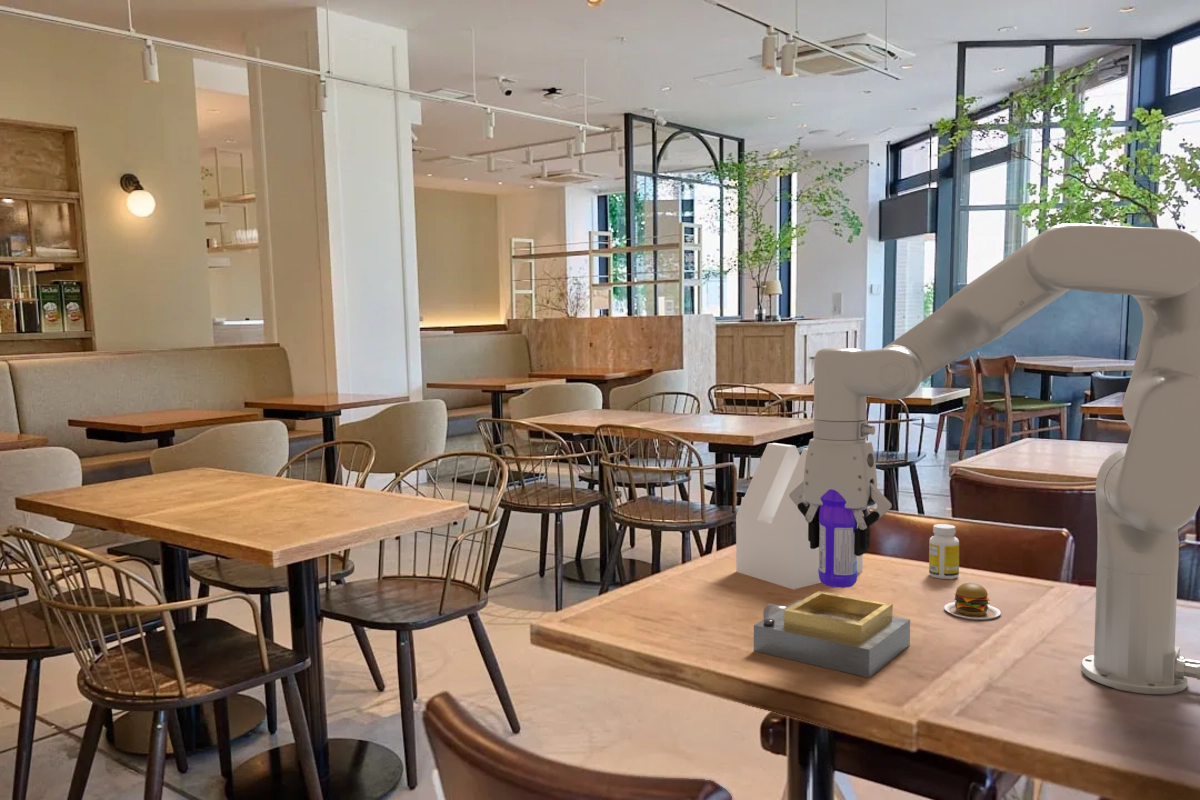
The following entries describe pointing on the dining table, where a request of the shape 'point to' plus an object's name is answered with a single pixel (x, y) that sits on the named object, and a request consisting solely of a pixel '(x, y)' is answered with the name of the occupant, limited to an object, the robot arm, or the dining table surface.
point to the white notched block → (777, 523)
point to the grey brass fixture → (833, 633)
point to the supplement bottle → (944, 552)
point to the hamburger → (971, 602)
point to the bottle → (836, 542)
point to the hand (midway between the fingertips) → (838, 549)
